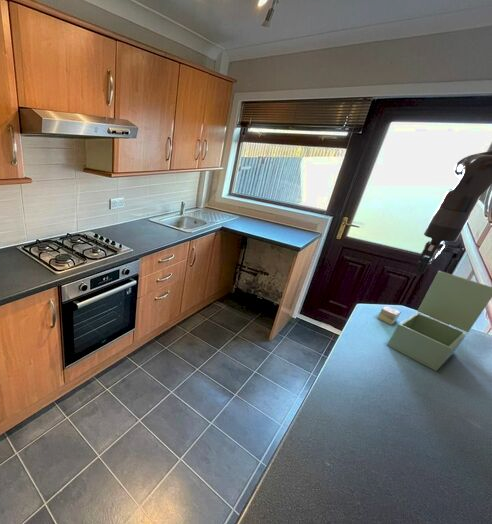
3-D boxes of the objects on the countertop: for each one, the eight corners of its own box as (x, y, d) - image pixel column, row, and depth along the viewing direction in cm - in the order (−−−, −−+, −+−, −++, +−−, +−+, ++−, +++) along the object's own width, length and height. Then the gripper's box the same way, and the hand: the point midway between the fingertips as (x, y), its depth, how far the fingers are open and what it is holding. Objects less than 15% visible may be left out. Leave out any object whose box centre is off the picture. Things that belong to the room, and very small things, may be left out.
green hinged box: (435, 371, 84) (451, 348, 80) (386, 345, 94) (398, 324, 90) (452, 354, 92) (467, 333, 88) (405, 331, 101) (417, 311, 98)
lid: (496, 289, 79) (503, 282, 82) (438, 271, 89) (445, 265, 91) (467, 332, 88) (475, 324, 90) (417, 311, 97) (424, 304, 100)
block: (382, 315, 110) (387, 305, 108) (395, 321, 107) (401, 312, 105) (377, 318, 108) (381, 308, 106) (390, 325, 105) (396, 315, 103)
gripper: (460, 230, 79) (431, 280, 86) (467, 223, 87) (440, 270, 94) (425, 223, 85) (401, 271, 92) (435, 217, 93) (412, 261, 99)
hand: (421, 270), depth 93 cm, fingers open, 8 cm apart
